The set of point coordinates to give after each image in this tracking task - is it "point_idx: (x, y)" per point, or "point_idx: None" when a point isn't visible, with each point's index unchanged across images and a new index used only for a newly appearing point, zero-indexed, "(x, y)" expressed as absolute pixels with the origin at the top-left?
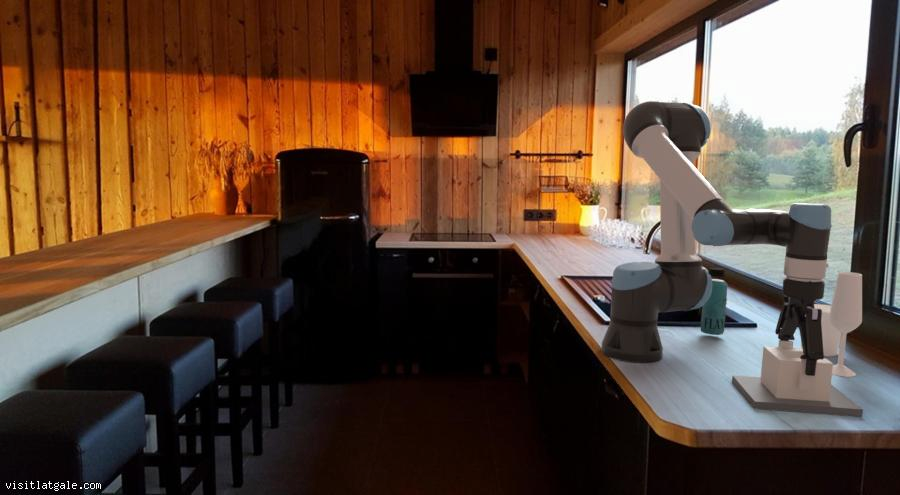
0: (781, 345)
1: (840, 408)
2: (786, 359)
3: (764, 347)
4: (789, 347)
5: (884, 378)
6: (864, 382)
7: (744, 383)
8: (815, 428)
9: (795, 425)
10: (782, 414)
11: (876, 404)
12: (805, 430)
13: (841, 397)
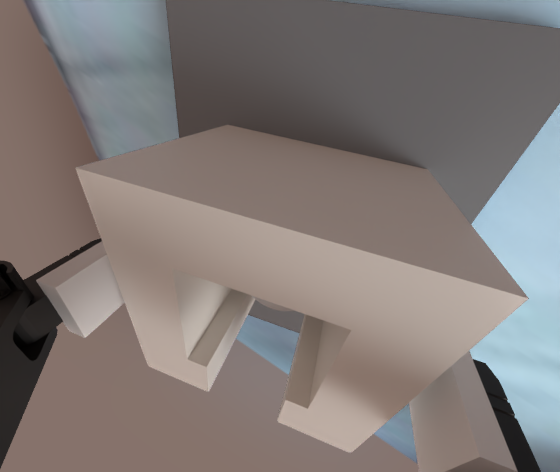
0: (458, 413)
1: None
2: (118, 228)
3: (487, 283)
4: (424, 421)
5: (407, 448)
6: (394, 416)
7: (421, 53)
8: (100, 140)
9: (95, 91)
10: (163, 96)
11: (272, 347)
12: (74, 102)
13: (259, 308)
